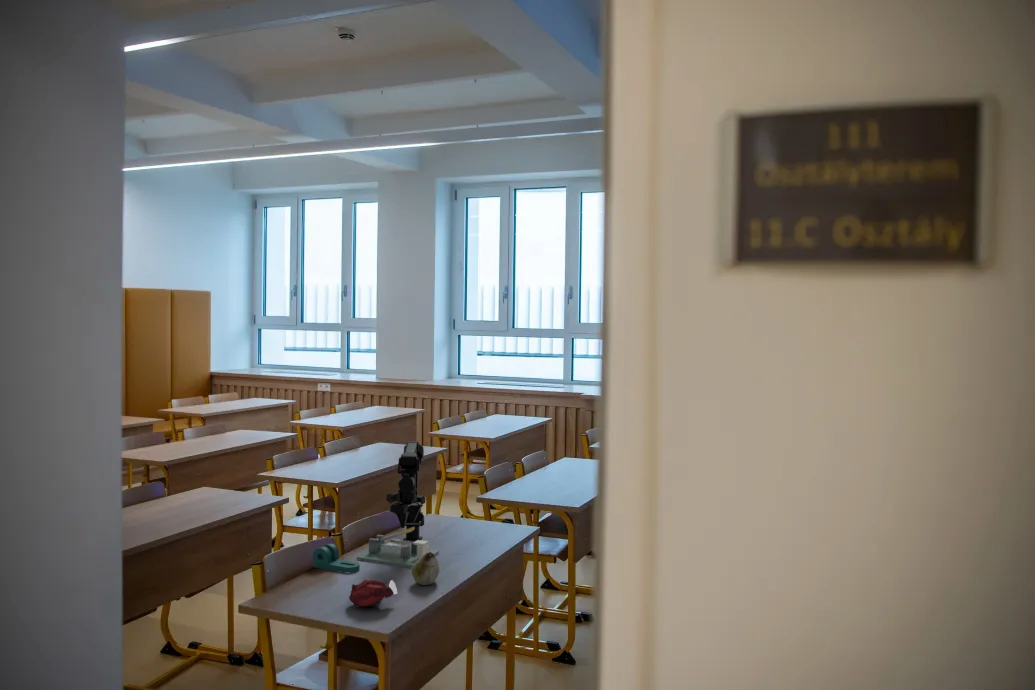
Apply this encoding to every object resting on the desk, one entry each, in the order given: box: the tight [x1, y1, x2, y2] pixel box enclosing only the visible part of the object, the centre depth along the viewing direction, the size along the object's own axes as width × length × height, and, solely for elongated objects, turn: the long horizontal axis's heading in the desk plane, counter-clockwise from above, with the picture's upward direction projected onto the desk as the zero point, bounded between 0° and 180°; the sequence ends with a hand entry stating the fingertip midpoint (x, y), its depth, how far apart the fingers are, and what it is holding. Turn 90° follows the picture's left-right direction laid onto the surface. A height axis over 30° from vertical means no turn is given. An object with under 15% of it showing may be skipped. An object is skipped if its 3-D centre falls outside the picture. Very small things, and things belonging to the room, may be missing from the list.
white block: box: [413, 539, 430, 559], centre depth 289 cm, size 5×4×6 cm
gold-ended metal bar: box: [377, 527, 415, 543], centre depth 293 cm, size 4×18×2 cm, turn 70°
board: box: [355, 542, 440, 569], centre depth 293 cm, size 20×26×1 cm
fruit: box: [411, 552, 440, 586], centre depth 262 cm, size 10×9×12 cm
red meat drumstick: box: [348, 578, 398, 608], centre depth 241 cm, size 15×13×9 cm
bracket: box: [312, 543, 361, 574], centre depth 278 cm, size 18×7×8 cm, turn 67°
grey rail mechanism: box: [368, 534, 418, 559], centre depth 293 cm, size 11×18×6 cm, turn 70°
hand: (407, 525), depth 291 cm, fingers open, 8 cm apart
